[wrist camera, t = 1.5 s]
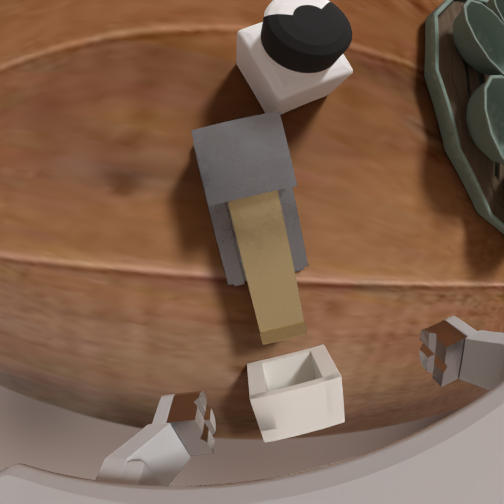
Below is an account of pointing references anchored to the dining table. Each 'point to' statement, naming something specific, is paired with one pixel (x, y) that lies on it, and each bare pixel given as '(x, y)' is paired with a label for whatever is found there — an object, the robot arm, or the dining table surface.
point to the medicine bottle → (295, 53)
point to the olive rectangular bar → (268, 266)
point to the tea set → (470, 96)
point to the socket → (295, 393)
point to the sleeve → (247, 180)
